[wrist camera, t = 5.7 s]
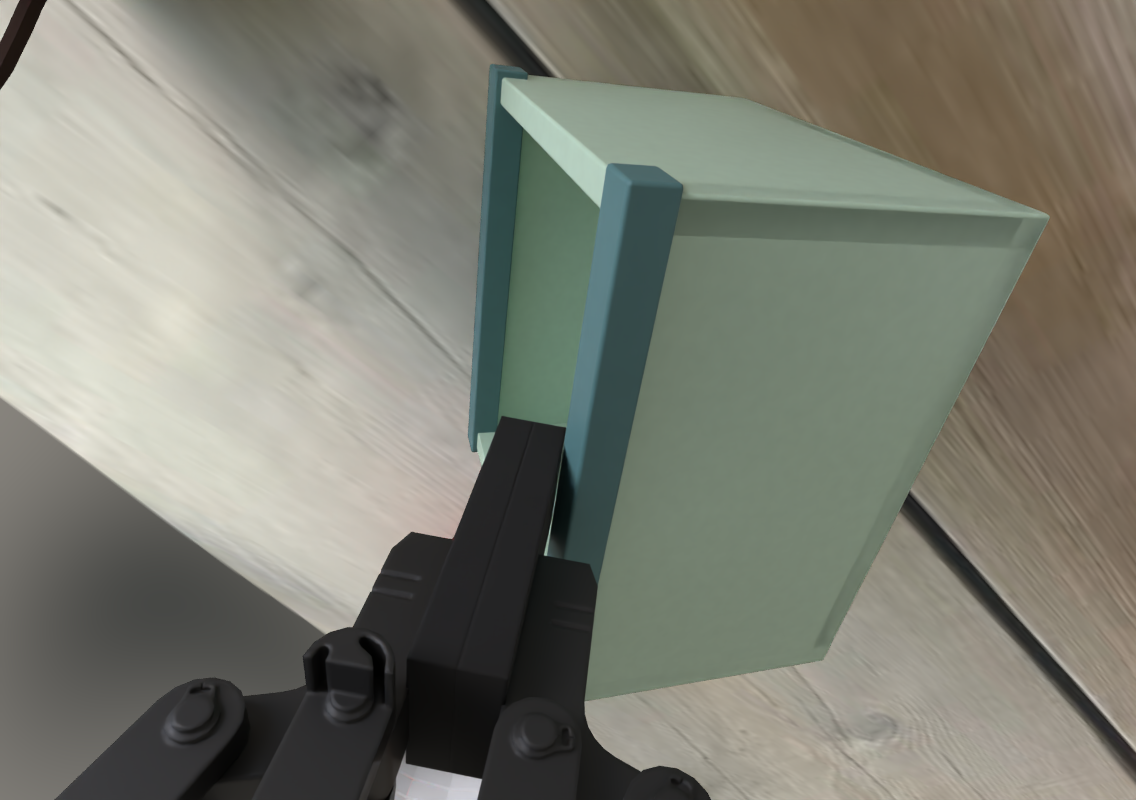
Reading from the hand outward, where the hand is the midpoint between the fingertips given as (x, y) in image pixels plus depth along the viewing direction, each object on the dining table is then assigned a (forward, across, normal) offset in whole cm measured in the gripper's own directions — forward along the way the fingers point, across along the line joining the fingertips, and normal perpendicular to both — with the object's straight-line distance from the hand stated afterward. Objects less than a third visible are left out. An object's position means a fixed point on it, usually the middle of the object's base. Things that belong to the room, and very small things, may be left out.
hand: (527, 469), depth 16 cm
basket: (+12, 0, 0) cm, 12 cm away
